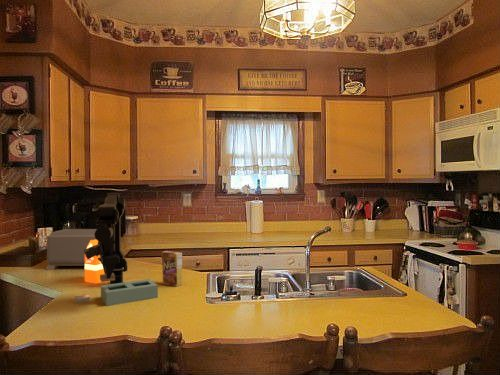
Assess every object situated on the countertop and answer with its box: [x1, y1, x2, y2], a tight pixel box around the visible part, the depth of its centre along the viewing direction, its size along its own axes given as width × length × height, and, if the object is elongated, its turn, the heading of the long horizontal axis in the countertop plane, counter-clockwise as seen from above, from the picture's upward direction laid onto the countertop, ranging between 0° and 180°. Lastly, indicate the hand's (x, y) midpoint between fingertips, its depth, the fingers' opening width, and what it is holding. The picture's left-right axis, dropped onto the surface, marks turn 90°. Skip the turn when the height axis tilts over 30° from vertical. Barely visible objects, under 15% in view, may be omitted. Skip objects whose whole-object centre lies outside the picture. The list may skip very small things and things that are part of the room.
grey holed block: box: [100, 278, 159, 307], centre depth 155 cm, size 12×20×5 cm, turn 122°
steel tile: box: [74, 294, 91, 304], centre depth 151 cm, size 4×5×2 cm
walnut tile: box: [100, 273, 115, 283], centre depth 149 cm, size 4×5×2 cm
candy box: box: [161, 250, 183, 288], centre depth 175 cm, size 9×4×15 cm, turn 60°
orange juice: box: [84, 240, 105, 284], centre depth 183 cm, size 8×9×20 cm
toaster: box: [45, 228, 98, 271], centre depth 215 cm, size 19×35×20 cm, turn 90°
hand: (107, 277), depth 149 cm, fingers closed on walnut tile, 4 cm apart
